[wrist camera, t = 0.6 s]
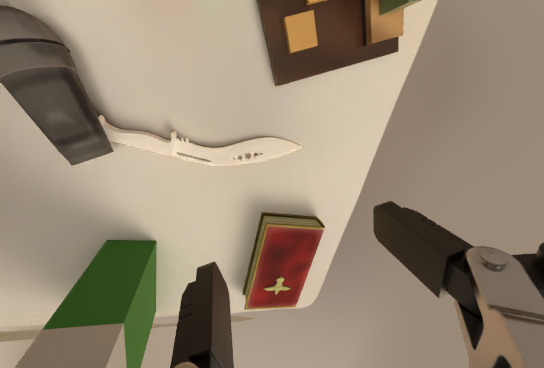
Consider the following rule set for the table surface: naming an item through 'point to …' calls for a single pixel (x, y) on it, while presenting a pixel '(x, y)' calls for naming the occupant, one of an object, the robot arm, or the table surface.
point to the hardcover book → (281, 260)
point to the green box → (102, 313)
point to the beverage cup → (49, 86)
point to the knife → (216, 155)
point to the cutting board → (318, 38)
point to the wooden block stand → (383, 19)
